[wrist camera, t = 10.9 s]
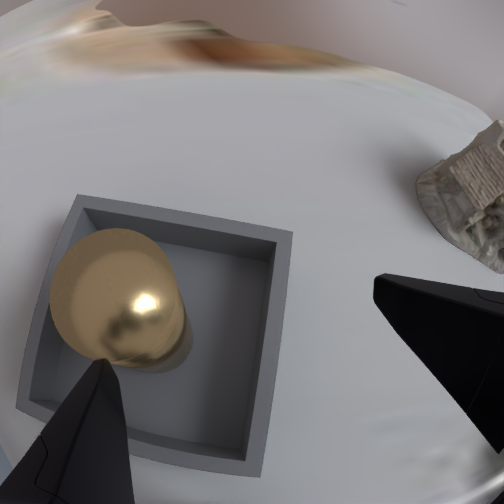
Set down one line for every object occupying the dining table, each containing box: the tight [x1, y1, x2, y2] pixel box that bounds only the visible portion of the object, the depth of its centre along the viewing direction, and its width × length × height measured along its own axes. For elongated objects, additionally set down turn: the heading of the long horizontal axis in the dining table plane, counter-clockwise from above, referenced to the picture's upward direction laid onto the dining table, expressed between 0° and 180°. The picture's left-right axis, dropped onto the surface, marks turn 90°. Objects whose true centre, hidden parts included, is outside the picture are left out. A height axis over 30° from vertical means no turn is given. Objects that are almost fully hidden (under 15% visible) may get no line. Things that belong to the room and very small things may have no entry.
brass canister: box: [50, 228, 193, 373], centre depth 16 cm, size 5×5×11 cm
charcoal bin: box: [16, 194, 293, 478], centre depth 20 cm, size 16×16×4 cm
